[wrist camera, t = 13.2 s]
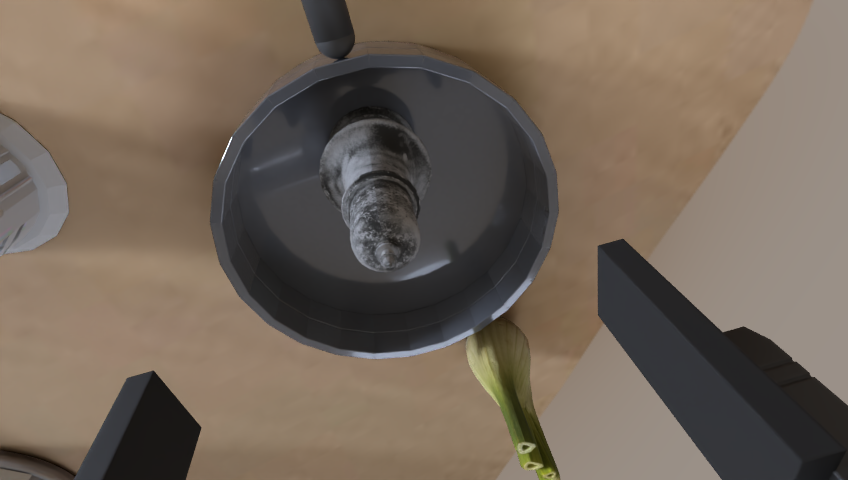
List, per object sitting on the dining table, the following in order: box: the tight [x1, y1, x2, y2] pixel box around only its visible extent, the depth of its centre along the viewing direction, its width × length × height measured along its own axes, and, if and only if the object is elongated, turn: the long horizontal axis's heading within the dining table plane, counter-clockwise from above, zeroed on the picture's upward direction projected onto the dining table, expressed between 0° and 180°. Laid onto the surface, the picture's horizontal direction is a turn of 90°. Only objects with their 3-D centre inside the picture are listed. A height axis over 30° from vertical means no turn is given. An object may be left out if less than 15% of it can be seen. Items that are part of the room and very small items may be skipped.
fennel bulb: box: [466, 317, 560, 480], centre depth 31 cm, size 6×5×12 cm
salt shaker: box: [319, 106, 432, 272], centre depth 21 cm, size 6×6×12 cm
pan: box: [210, 41, 559, 359], centre depth 27 cm, size 19×19×4 cm
